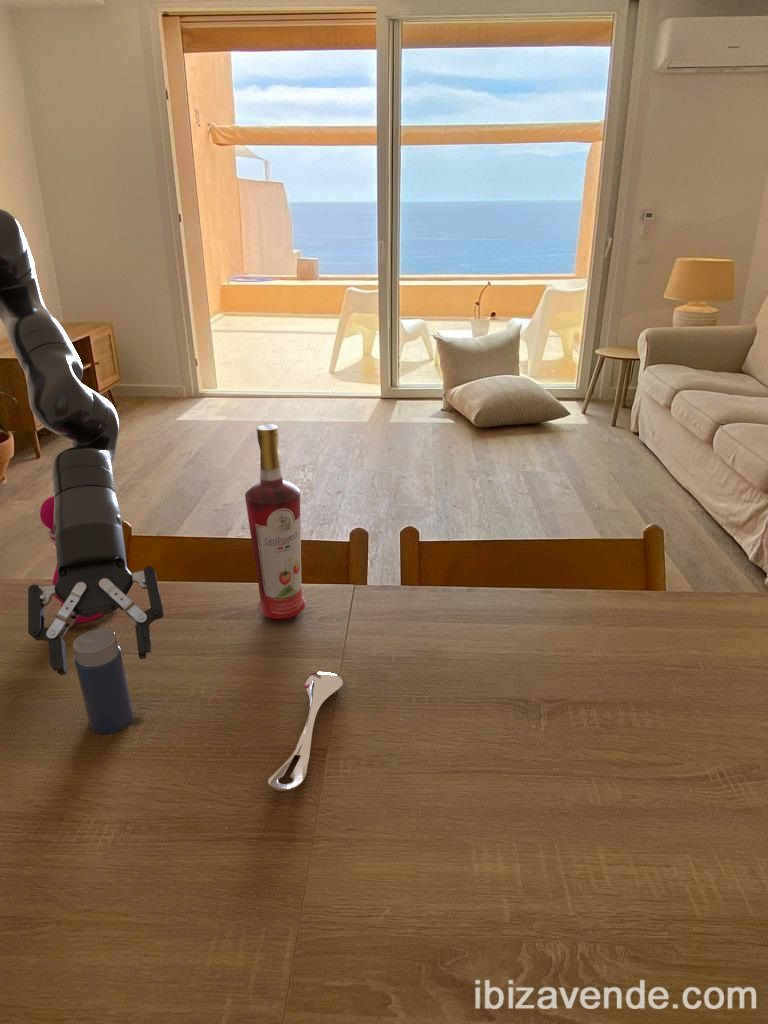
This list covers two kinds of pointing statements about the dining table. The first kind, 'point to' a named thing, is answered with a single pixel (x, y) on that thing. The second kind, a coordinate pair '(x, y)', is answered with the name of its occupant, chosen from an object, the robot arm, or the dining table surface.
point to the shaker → (103, 681)
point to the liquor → (275, 533)
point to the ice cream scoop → (306, 729)
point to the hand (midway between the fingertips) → (103, 665)
